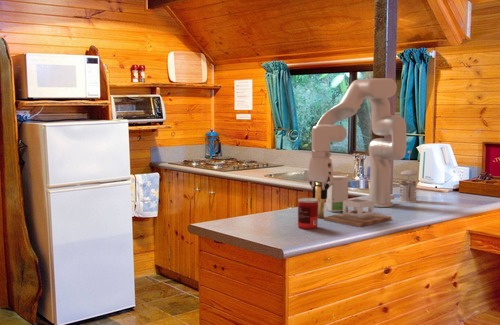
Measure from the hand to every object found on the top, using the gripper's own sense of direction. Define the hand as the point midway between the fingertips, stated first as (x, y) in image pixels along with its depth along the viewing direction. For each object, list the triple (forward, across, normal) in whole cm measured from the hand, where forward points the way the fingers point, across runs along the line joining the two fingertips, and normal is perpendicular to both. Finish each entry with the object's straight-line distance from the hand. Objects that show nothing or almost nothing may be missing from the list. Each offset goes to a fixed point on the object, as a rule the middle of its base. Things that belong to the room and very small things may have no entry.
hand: (319, 197), depth 253 cm
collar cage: (+7, -14, -8) cm, 18 cm away
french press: (+8, -3, -64) cm, 65 cm away
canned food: (+8, -10, +19) cm, 23 cm away
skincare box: (+8, +5, -18) cm, 21 cm away
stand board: (+8, -14, -8) cm, 18 cm away
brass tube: (+8, 0, 0) cm, 8 cm away
